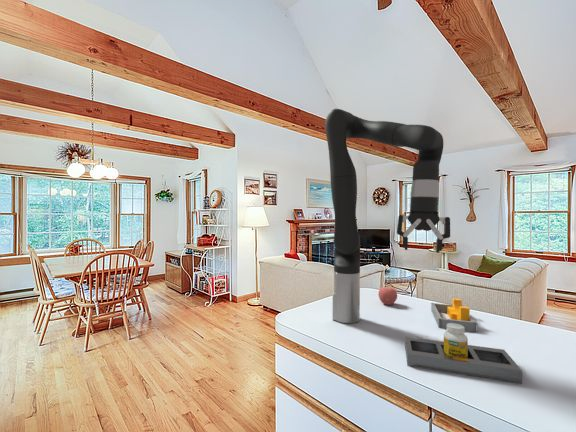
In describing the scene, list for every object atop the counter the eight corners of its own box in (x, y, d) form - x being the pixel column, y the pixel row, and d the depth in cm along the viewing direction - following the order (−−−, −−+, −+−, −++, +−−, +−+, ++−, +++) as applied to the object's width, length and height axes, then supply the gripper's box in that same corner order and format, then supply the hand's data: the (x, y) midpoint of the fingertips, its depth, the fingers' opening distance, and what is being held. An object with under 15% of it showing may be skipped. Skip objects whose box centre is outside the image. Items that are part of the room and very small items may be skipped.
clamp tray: (438, 327, 99) (438, 318, 99) (431, 310, 117) (431, 302, 117) (476, 332, 96) (476, 322, 96) (462, 313, 114) (462, 305, 113)
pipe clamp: (447, 314, 113) (447, 297, 113) (460, 316, 111) (460, 299, 111) (455, 326, 101) (455, 307, 101) (469, 327, 100) (469, 308, 100)
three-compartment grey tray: (407, 365, 74) (407, 352, 74) (405, 346, 84) (405, 335, 84) (522, 384, 66) (522, 369, 66) (504, 361, 77) (504, 348, 77)
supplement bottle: (464, 359, 77) (464, 323, 77) (470, 369, 72) (470, 330, 72) (441, 356, 79) (442, 320, 79) (445, 366, 74) (446, 328, 74)
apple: (375, 302, 128) (375, 283, 128) (390, 301, 129) (390, 283, 129) (384, 307, 120) (384, 288, 120) (400, 306, 122) (400, 287, 122)
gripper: (398, 194, 86) (395, 250, 86) (454, 196, 81) (450, 254, 81) (398, 196, 93) (395, 247, 93) (449, 197, 88) (446, 251, 88)
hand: (421, 251), depth 87 cm, fingers open, 8 cm apart
